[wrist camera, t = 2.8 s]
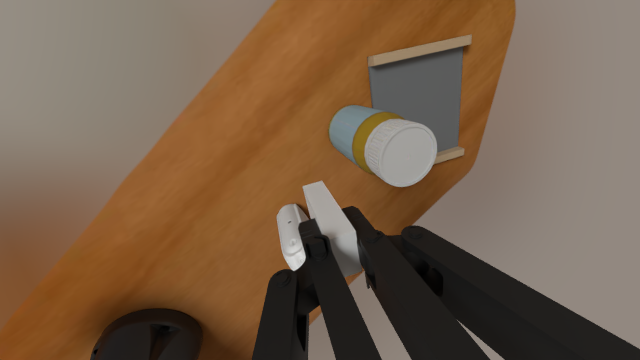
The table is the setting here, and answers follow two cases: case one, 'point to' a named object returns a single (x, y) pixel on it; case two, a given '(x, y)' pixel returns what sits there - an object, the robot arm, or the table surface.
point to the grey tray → (423, 88)
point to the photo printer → (291, 234)
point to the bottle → (384, 144)
